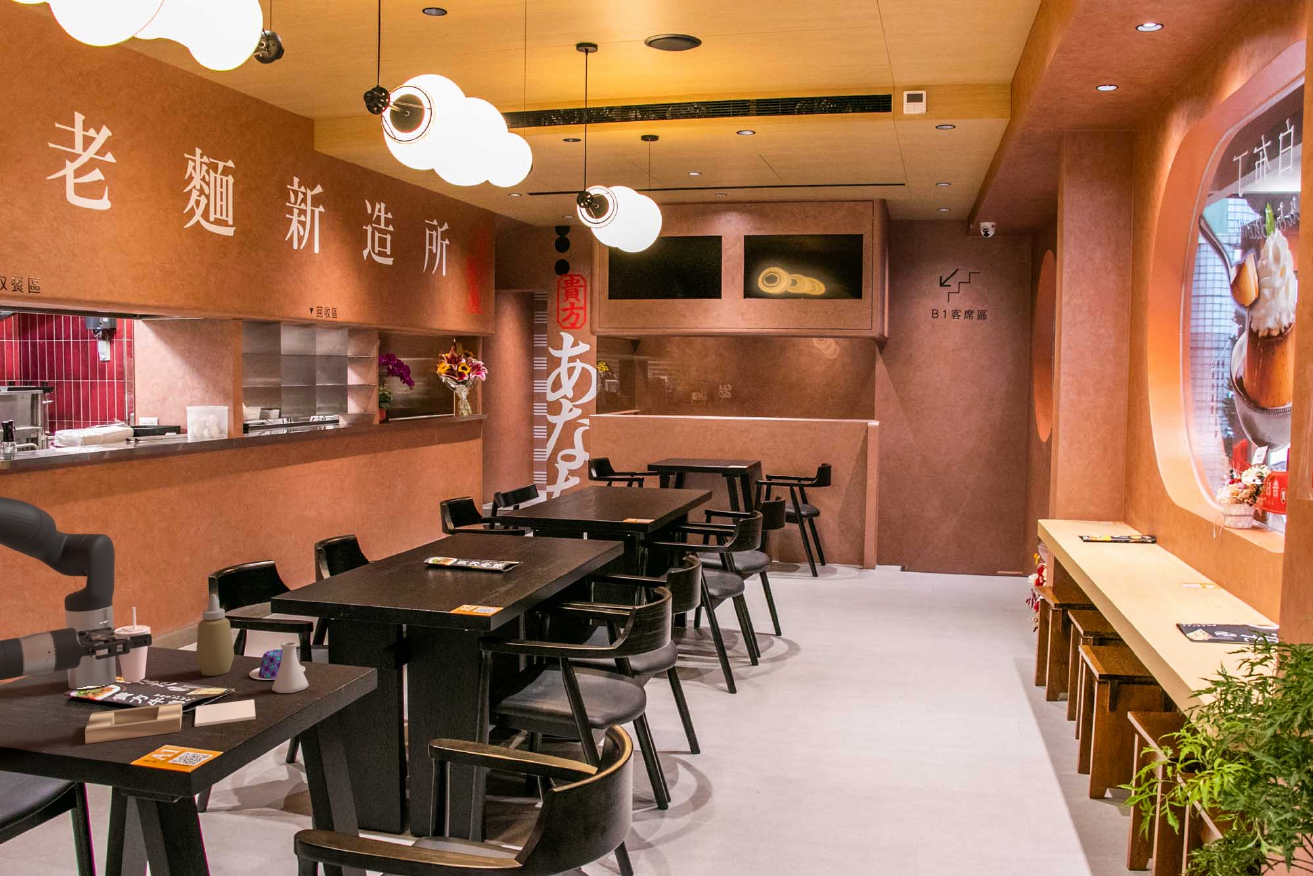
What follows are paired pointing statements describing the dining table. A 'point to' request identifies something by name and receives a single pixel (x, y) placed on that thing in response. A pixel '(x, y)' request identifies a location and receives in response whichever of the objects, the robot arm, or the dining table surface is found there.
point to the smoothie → (133, 652)
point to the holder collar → (160, 717)
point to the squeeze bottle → (214, 641)
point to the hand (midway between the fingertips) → (145, 635)
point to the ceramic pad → (225, 713)
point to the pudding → (269, 665)
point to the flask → (289, 671)
